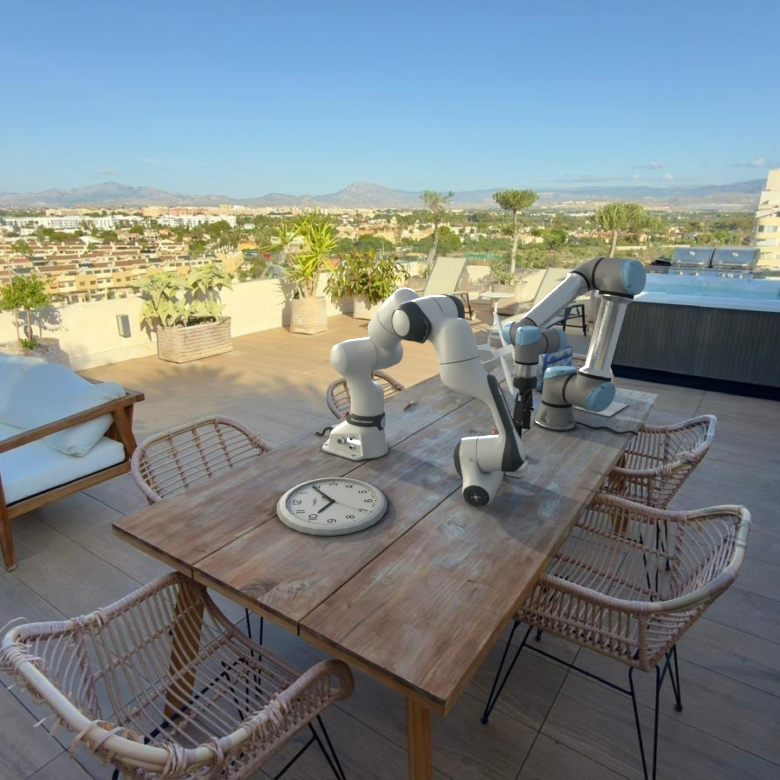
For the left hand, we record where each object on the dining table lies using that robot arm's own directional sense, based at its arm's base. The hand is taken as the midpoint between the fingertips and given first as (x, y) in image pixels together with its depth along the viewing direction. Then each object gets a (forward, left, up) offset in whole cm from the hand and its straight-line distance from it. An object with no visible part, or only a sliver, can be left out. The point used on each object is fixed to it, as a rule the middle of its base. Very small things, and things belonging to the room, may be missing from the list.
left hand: (497, 453), depth 162 cm
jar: (0, -1, -6) cm, 6 cm away
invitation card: (+30, +82, -6) cm, 88 cm away
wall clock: (-37, -38, -6) cm, 54 cm away
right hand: (+5, +16, +1) cm, 17 cm away
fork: (-46, +48, -6) cm, 67 cm away
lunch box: (+6, +102, -6) cm, 102 cm away
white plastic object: (-23, +80, -6) cm, 84 cm away
